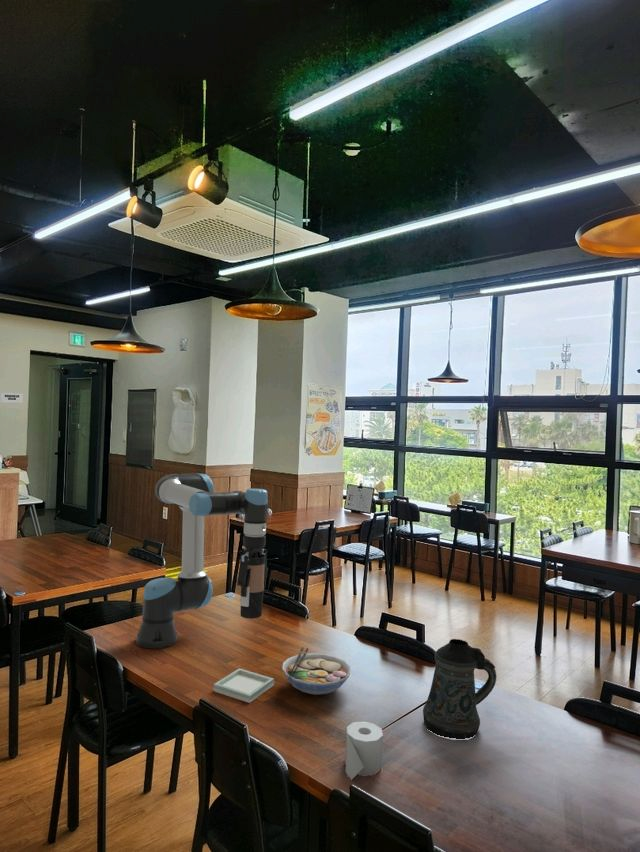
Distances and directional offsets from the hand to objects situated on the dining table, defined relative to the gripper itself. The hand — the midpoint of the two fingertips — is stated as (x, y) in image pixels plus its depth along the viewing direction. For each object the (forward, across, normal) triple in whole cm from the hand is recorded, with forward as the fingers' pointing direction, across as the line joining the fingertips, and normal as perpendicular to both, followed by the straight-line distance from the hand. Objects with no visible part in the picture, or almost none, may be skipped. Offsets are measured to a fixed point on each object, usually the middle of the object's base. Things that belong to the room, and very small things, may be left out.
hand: (251, 602), depth 185 cm
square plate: (+26, -6, -2) cm, 27 cm away
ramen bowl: (+26, +6, -22) cm, 35 cm away
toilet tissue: (+27, -26, -51) cm, 63 cm away
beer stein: (+27, +8, -68) cm, 73 cm away
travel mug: (+4, 0, 0) cm, 4 cm away
